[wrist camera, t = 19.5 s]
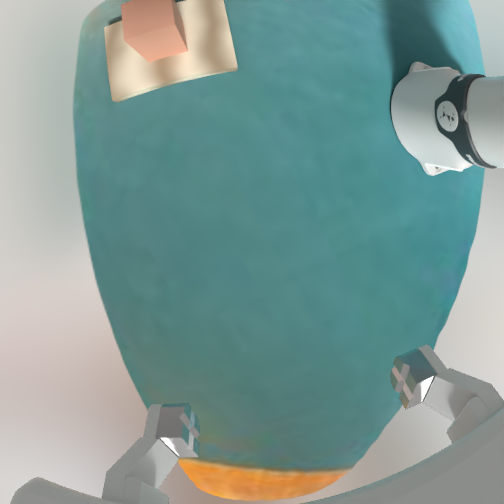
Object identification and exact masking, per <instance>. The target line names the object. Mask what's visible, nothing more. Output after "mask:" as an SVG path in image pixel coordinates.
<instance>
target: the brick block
mask: <svg viewBox="0 0 504 504" xmlns="http://www.w3.org/2000/svg"><path fill="white" fill-rule="evenodd" d="M121 10H122V25H123V36H124V41H125V42H126V43H127V44H128V45H130V46H131V47H132V48H133V49H134V50H135V51H137V52H138V53H139V54H140V55H141V56H142V57H143V58H144V59H146V60H147V61H148V62H152V61H155V60H158V59H162V58H165V57H169V56H172V55H176V54H180V53H184V52H188V48H187V42H186V36H185V31H184V25H183V20H182V17H181V15H180V12H179V10H178V7H177V5H176V2H175V0H132V1H129V2H126V3H124V4H121Z"/></svg>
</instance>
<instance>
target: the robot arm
mask: <svg viewBox="0 0 504 504" xmlns="http://www.w3.org/2000/svg"><path fill="white" fill-rule="evenodd" d="M391 114H392V121H393V125H394V128H395V131H396V133H397V136H398V138H399V140H400V141H401V143H402V145H403V146H404V147H405V149H406V150H407V151H408V152H409V153H410V154H411V155H413V156H414V157H415V158H416V159H417V160H418V161H419V162H420V163H421V165H422V167H423V169H424V171H425V172H426V174H428V175H437V174H439V173H442V172H444V171H447V170H450V169H451V170H456V171H463V169H465V168H468V167H470V166H472V165H473V164H474V165H477V166H479V167H483V168H486V167H487V168H497V167H499V168H503V169H504V76H497V77H486V76H484V75H481V74H460V73H459V71H458V70H454V69H451V68H450V67H439V68H433V67H431V66H428V65H426V64H424V63H421V62H413V63H412V65H411V67H410V70H409V73H408V74H407V75H406V76H405V77H404V78H403V79H402V80H401V81H400V82H399V83H398V84H397V86H396V87H395V90H394V92H393V96H392V101H391ZM394 365H395V367H394V368H393V369H392V370H391V375H390V377H391V383H392V386H393V388H394V390H395V391H397V392H399V393H400V397H399V399H400V400H401V402H402V404H403V406H404V408H405V409H408V408H411V407H413V406H415V405H417V404H419V403H422V402H423V404H425V405H426V406H428V407H430V408H431V409H433V410H435V411H437V412H438V413H440V414H441V415H443V416H445V417H446V418H448V419H450V420H452V421H453V424H452V425H451V426H450V427H449V429H448V431H447V434H448V436H449V438H450V440H451V442H452V444H451V445H449V446H448V447H446V448H444V449H443V450H441V451H439V452H438V453H436V454H434V455H432V456H431V457H429V458H427V459H425V460H423V461H421V462H419V463H417V464H415V465H413V466H412V467H409V468H407V469H405V470H403V471H401V472H399V473H396V474H394V475H392V476H389V477H387V478H385V479H382V480H380V481H377V482H374V483H372V484H369V485H366V486H363V487H361V488H358V489H355V490H352V491H348V492H345V493H342V494H339V495H335V496H331V497H328V498H324V499H320V500H316V501H311V502H306V503H302V504H504V401H503V399H502V398H501V397H500V395H499V394H498V392H497V391H496V390H495V388H494V387H493V386H492V385H491V384H490V383H487V382H484V381H482V380H479V379H477V378H474V377H471V376H469V375H466V374H464V373H461V372H459V371H456V370H454V369H451V368H449V369H447V368H446V367H445V365H444V364H443V363H442V361H441V360H440V359H439V358H438V356H437V355H436V354H435V352H434V351H433V350H432V349H431V347H430V346H429V345H424V346H421V347H419V348H417V349H414V350H411V351H409V352H407V353H404V354H402V355H400V356H397V357H396V358H395V359H394ZM199 434H200V427H199V421H198V418H197V416H196V414H195V413H193V412H191V407H190V405H189V404H188V403H181V404H151V405H150V407H149V410H148V415H147V420H146V426H145V430H144V436H143V438H139V439H138V440H137V441H136V442H135V443H134V445H133V446H132V447H131V448H130V449H129V450H128V451H127V452H126V453H125V454H124V455H123V456H122V457H121V458H120V459H119V460H118V461H117V462H116V463H115V464H114V465H113V466H112V467H111V468H110V469H109V470H108V471H107V473H106V478H105V483H104V488H103V494H102V499H101V498H98V497H94V496H90V495H87V494H84V493H80V492H78V491H75V490H72V489H69V488H66V487H63V486H60V485H58V484H55V483H53V482H50V481H48V480H45V479H43V478H39V477H36V478H34V479H32V480H30V481H29V482H27V483H26V484H24V485H23V486H22V487H21V488H19V489H18V490H17V491H16V492H15V494H14V496H13V498H12V501H11V503H10V504H169V497H168V496H167V495H166V494H164V493H162V492H160V491H159V490H157V489H158V488H159V487H160V485H161V484H162V482H163V481H164V479H165V478H166V477H167V475H168V474H169V472H170V471H171V469H172V468H173V467H174V465H175V464H176V462H177V461H178V459H179V458H178V457H199V442H198V441H197V440H196V438H197V436H198V435H199Z"/></svg>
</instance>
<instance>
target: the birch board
mask: <svg viewBox="0 0 504 504" xmlns="http://www.w3.org/2000/svg"><path fill="white" fill-rule="evenodd" d="M176 5H177V7H178V10H179V12H180V15H181V17H182V20H183V25H184V31H185V36H186V42H187V48H188V52H184V53H180V54H176V55H172V56H169V57H165V58H162V59H158V60H155V61H152V62H148V61H147V60H146V59H144V58H143V57H142V56H141V55H140V54H139V53H138V52H137V51H135V50H134V49H133V48H132V47H131V46H130V45H128V44H127V43H126V42H125V41H124V36H123V25H122V20H121V21H119V22H116V23H114V24H111V25H109V26H107V27H104V30H105V44H106V55H107V65H108V74H109V81H110V89H111V95H112V101H116V102H120V101H122V100H125V99H128V98H131V97H133V96H136V95H139V94H142V93H145V92H148V91H152V90H155V89H158V88H161V87H165V86H168V85H172V84H176V83H179V82H183V81H187V80H191V79H195V78H200V77H204V76H209V75H214V74H219V73H225V72H230V71H236V70H237V67H238V66H237V61H236V56H235V51H234V47H233V42H232V37H231V32H230V28H229V23H228V18H227V14H226V9H225V5H224V0H185V1H181V2H177V3H176Z"/></svg>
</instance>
